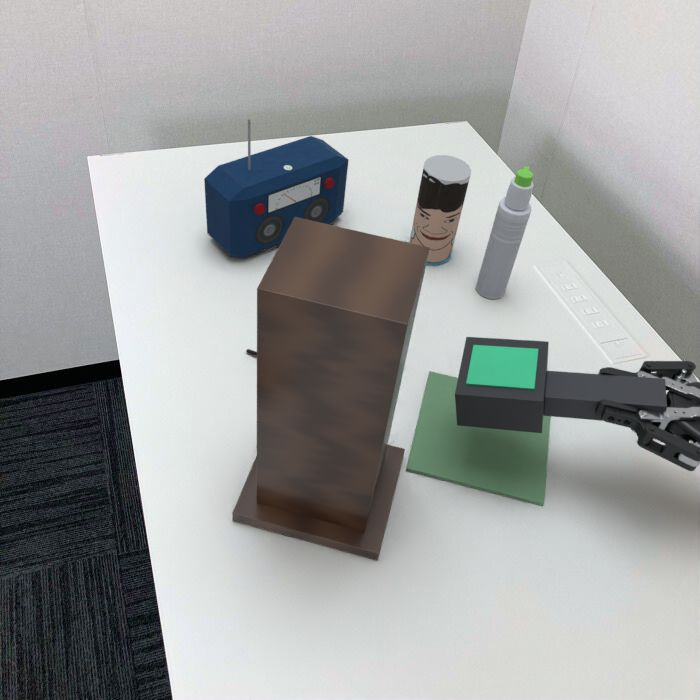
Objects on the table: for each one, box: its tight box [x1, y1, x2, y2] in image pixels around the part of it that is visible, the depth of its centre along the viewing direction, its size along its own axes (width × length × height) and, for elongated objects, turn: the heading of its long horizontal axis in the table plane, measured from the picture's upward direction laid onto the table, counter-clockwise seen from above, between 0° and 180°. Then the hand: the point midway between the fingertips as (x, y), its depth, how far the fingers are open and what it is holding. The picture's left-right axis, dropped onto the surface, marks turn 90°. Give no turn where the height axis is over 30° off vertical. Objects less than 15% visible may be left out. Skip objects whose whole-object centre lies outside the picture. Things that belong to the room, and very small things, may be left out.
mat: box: [405, 370, 551, 507], centre depth 90 cm, size 16×16×1 cm
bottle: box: [475, 165, 534, 300], centre depth 102 cm, size 4×4×20 cm
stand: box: [231, 217, 430, 561], centre depth 71 cm, size 16×14×32 cm
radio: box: [203, 118, 349, 259], centre depth 107 cm, size 21×9×20 cm, turn 129°
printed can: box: [408, 154, 472, 267], centre depth 109 cm, size 7×7×15 cm
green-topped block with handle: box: [455, 336, 667, 433], centre depth 79 cm, size 21×9×5 cm, turn 76°
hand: (598, 391), depth 78 cm, fingers closed on green-topped block with handle, 4 cm apart
